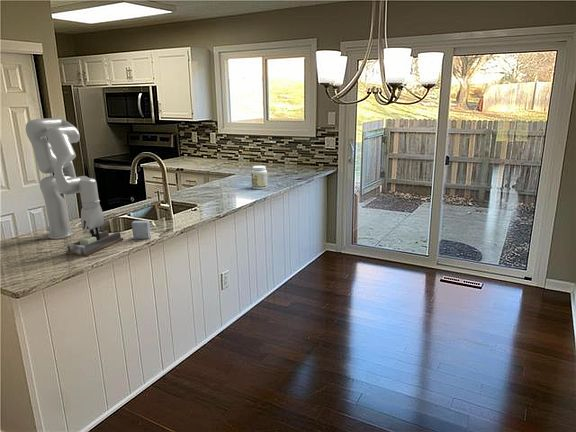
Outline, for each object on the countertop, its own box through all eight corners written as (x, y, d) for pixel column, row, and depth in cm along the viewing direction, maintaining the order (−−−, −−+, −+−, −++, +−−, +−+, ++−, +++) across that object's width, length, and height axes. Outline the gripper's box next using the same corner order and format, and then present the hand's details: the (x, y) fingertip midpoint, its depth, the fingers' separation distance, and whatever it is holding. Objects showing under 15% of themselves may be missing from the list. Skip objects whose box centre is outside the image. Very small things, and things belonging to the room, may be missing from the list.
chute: (66, 253, 194) (64, 244, 193) (104, 237, 216) (103, 229, 214) (86, 256, 190) (84, 247, 189) (123, 240, 212) (122, 231, 210)
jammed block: (80, 248, 197) (79, 239, 196) (88, 244, 202) (87, 236, 201) (89, 249, 196) (88, 240, 194) (97, 245, 200) (96, 237, 199)
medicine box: (151, 236, 217) (149, 220, 214) (148, 239, 213) (147, 222, 210) (136, 236, 217) (134, 220, 214) (133, 239, 212) (131, 223, 210)
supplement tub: (248, 188, 328) (247, 166, 324) (260, 185, 336) (260, 164, 332) (258, 190, 320) (257, 168, 315) (270, 188, 328) (270, 166, 323)
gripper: (96, 200, 206) (101, 235, 211) (72, 207, 192) (78, 245, 197) (108, 201, 203) (113, 237, 208) (84, 209, 190) (90, 247, 195)
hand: (96, 241), depth 203 cm, fingers closed
